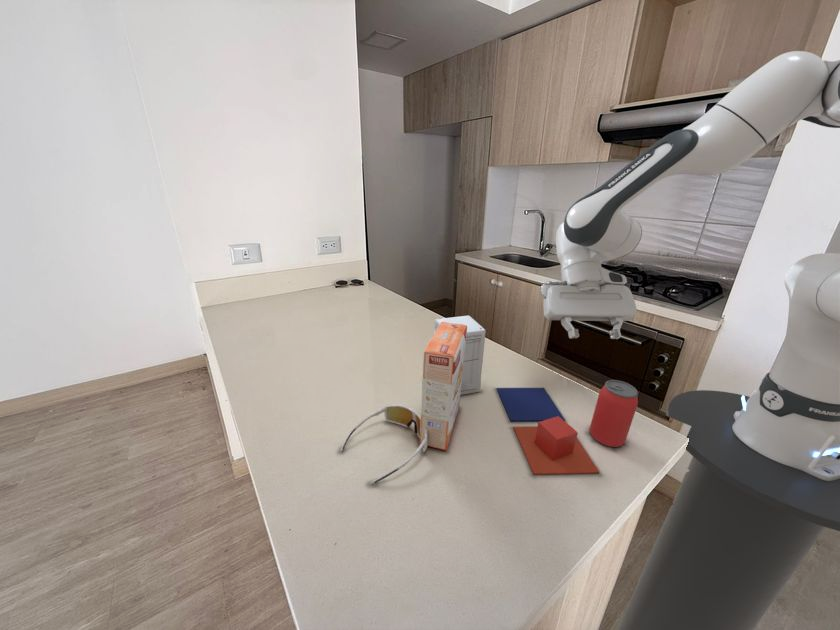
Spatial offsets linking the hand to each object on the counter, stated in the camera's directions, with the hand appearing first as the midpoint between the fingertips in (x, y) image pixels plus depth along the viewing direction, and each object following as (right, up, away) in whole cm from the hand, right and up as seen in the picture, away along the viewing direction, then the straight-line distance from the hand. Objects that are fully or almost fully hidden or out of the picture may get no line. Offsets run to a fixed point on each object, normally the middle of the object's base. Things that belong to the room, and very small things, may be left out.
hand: (595, 338), depth 75 cm
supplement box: (-30, -13, +11) cm, 34 cm away
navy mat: (-13, -16, +5) cm, 21 cm away
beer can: (0, -20, -5) cm, 21 cm away
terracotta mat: (-13, -21, -8) cm, 26 cm away
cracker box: (-34, -18, -3) cm, 39 cm away
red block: (-13, -21, -8) cm, 26 cm away
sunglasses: (-45, -21, -9) cm, 50 cm away
